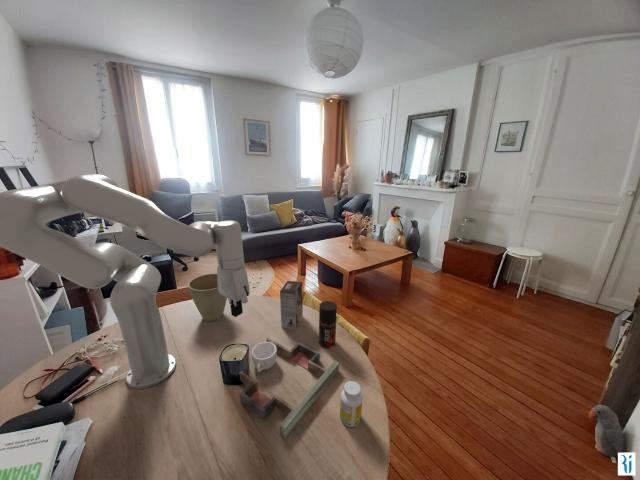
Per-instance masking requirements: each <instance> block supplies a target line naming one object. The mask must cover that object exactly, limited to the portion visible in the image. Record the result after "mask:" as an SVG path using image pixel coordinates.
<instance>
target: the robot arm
mask: <svg viewBox="0 0 640 480" xmlns="http://www.w3.org/2000/svg"><path fill="white" fill-rule="evenodd" d="M80 213H85V214H87V215H90V216H92V217H95V218H98V219H102V220H104V221H108V222H111V223H113V224H117V225H119V226H121V227H124V228H127V229H129V230H132V231H135V232H136V233H138V234H140V235H141V236H142V237H144V238H146V239H148V240H150V241H151V242H153V243H155V244H157V245H158V246H160V247H162V248H165V249H167V250H170V251H173V252H176V253H178V254H181V255H185V256H189V257H193V258H194V257H204V256H206V255H208V254H209V253H211V251H212V250H213V248H214V246H215V252H216V259H217V268H216V269H217V270H216V274H217V282H218V291H219V293H220V294H221V295H223V296H225V297H227V300H228V303H229V305H230V312H231V315H230V316H232V317H234V318H236V317H238V316H240V315H242V314H243V312H244V311H243V310H244V309H243V304H246V303H248V302H249V299H248V297H249V296H250V283H249V277H248V274H247V270H246V266H245V257H244V256H245V254H244V247H243V246H244V245H243V237H242V228H241V226H242V225H241V224H240V222H238V221H237V220H229V219H228V220H221V221H195V222H192V223H190V224H189V225H188V224H185V223H183V222H182V221H179V220H176V219H174V218H172V217H171V216H169V215H167V214H166V213H165V212H163V211H162V210H161V209H160V208H159V207H158V206H157V204H155V203H154V201H152V200H150V199H149V198H145V197H143V196H140V195H139V194H136V193H134V192H131V191H129V190H126V189H124V188H121V187H119V185H118V184H117V182H116V181H115V180H113V179H112V178H111V177H109V176H106V175H103V174H99V173H89V174H81V175H76V176H73V177H70V178H69V179H67V180H62V181H58V182H57V181H56V182H51V183H47V184H41V185H40V184H39V185H36V186H29V187H21V188H16V189H15V188H14V189H9V190H5V191H2V192H0V247H1V248H3V249H4V250H7V251H9V252H11V253H13V254H15V255H18V256H20V257H22V258H24V259H26V260H29V261H32V262H33V263H35V264H37V265H39V266H41V267H43V268H45V269H47V270H49V271H50V272H53V274H56V275H58V276H60V277H63V278H65V279H66V280H69V281H70V282H72V283H74V284H76V285H79V286H80V287H82V288H85V289H89V290H90V289H91V290H92V289H93V290H97V289H101V288H103V287H105V286H107V285H108V284H109V283H111V282H112V281H115V282H116V284H115V285H114V287H113V288H112V290H111V293H110V296H109V297H110V299H109V302H110V306H111V309H112V311H113V313H114V315H115V317H116V320H117V322H118V325H119V329H120V333H121V336H122V340H123V345H124V348H125V352H126V355H127V359H128V364H129V368H130V369H129V370H128V372H127V374H126V378H125V380H126V384H127V385H128V387H130V388H133V389H146V388H150V387H152V386H156V385H158V384H159V383H161V382H163V381H165V380H166V379H167V378H168V377H169V376H170V375H172V373H173V372H174V370H175V369H176V365H177V361H176V358H175V357H174V356H173V355H172V354H169V352H168V351H169V350H168V345H167V341H166V336H165V330H164V325H163V320H162V315H161V313H160V309H159V307H158V304H157V300H156V296H157V292H158V290H159V288H160V284H161V282H162V276H161V273H160V271H159V269H157V267H155V266H154V265H152V263H150V262H148V261H147V260H146V259H143V258H142V257H140V256H138V255H137V254H135V253H133V252H132V251H130V250H128V249H127V248H125V247H123V246H121V245H119V244H117V243H112V242H105V241H104V242H98V243H95V244H92V245H91V246H90V245H87V244H86V243H84V242H82V241H80V240H78V239H77V238H75V237H73V236H72V235H70V234H67V233H65V232H63V231H59V230H57V229H53V228H51V227H50V226H47V225H46V224H48V223H50V222H52V221H56V220H58V219H61V218H64V217H68V216H71V215H75V214H80Z"/></svg>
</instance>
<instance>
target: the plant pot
mask: <svg viewBox="0 0 640 480" xmlns="http://www.w3.org/2000/svg"><path fill="white" fill-rule="evenodd" d="M187 285H188V288H189V289H188V290H189V293H190V295H191V297H192V300H193V302H194V305H195V308H196V309H197V311H198V312H199V314H200V316H201V317H202V319H203V320H205V321H206V322H215V321H216V320H219V319H221V318H222V316H224V315H223V314H224V312H225V308H226V304H227V300H228V298H227V297H225V296H223V295H221V294H220V293H219V291H218V282H217V273H207V274H203V275H199V276H196V277H194V278H193V279H191V280H189V282H188V283H187Z"/></svg>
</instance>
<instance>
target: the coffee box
mask: <svg viewBox="0 0 640 480" xmlns="http://www.w3.org/2000/svg"><path fill="white" fill-rule="evenodd" d="M279 297H280V300H279V302H280V303H279V304H280V323H281V325H280V327H281V328H283V329H290V330H297V329H298V328H299V325H300V322H301V321H302V318H303V315H304V314H303V312H304V311H303V309H304V307H303V306H304V305H303V303H304V302H303V282H302V281H296V280H295V281H294V280H293V281H291V280H287V281H286V282H285V284H284V285H283V287H282V288H281V289H280V290H279Z"/></svg>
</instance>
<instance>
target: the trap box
mask: <svg viewBox="0 0 640 480" xmlns="http://www.w3.org/2000/svg"><path fill="white" fill-rule="evenodd" d="M265 342H271V343H273V344H275V346H276V348H277V354H280V355H281V356H283V357H285V358H286V359H288V360H290V361H291V362H293V363H295V364H297V365H298V366H300V367H303V368H304V369H305V370H307V371H309V372H311V373H312V374H315V375H316V376H317V377H319V379H318V380H317V381H316V382H315V383H314V384H313V385H312V387H310V389H309V390H308V391H307V392H306V393H305V394H304V396H303V397H302V398H301V399H300V400H299V402H298V403H297V404H296V405H295V406H293V405H292V404H291V403H289V402H287V401H286V400H284V399H283V398H281V397H280V396H279V395H277V394H274V396H273V397H272V398H270V397H269V396H267V395H266V394H265V393H263V392H262V391H261V390H259V386H258V385H259V384H258V383H259V382H258V381H257V380H256V379H254V378H252V377H251V376H250V375H249V374H247V373H245V372H244V371H243V370H241V372H239V375H240V380H241V381H240V380H239V381H240V382H241V383H243V384H244V385H245V386H247V387H246V388H245V389H243V391H242V392H241V393H239V398H240V403H241V405H243V406H244V407H246V408H247V409H248V410H249V411H250V412H252V413H253V414H255V416H257V417H258V418H259V419H261V420H262V421H266V419H267V418H268V417H269V416H270V415H271V414H272V412H274V410H275V409H276V408H277V409H278V410H279V411H280V412H281V413H283V414H285V415H286V417H285V418H284V419H283V420H282V421H281V423H280V424H279V434H280V436H282V437H283V438H284V439H286V438H287V437H288V436H289V434H290V433H291V431H293V429H294V428H295V426H296V425H297V424H298V423H299V421H301V419H302V418H303V417H304V415H305V414H306V413H307V412H308V410H309V409H310V408H311V407H312V405H313V404H314V402H315V401H316V400H317V399H318V397H319V396H320V395H321V394H322V392H323V391H324V390H325V389H326V387H327V386H328V385H329V384H330V382H331V381H333V379H334V378H335V376H336V375H338V372H339V371H340V362H339V361H336V360H334V361H333V362H331V364H330V366H329V367H328V368H327V369H326V368H324V367H323V366H320V365H318V363H319V362H320V361H321V353H320V352H319V351H316V350H314V349H313V348H311V347H308V346H307V345H306V344H303V343H301V342H297V344H295V345H294V346H293V347H292V348H291V349H289V348H288V347H285V346H284V345H282V344H280V343H278V342H276V341H275V340H273V339H271V338H270V337H267V338H266V339H265Z"/></svg>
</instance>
